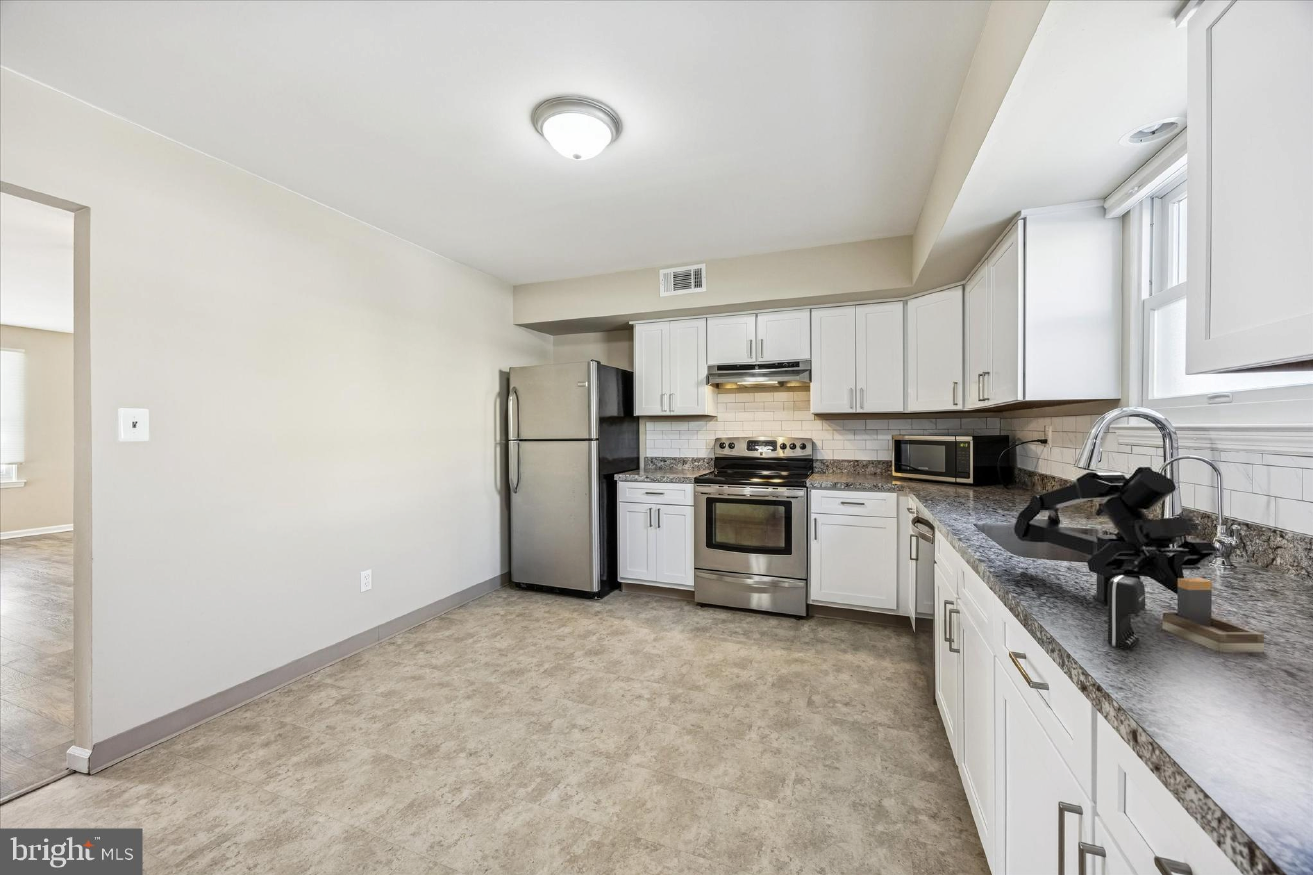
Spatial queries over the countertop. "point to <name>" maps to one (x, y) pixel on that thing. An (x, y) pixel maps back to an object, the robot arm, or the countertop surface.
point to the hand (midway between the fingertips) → (1183, 595)
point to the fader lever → (1195, 600)
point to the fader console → (1215, 634)
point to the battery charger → (1124, 610)
